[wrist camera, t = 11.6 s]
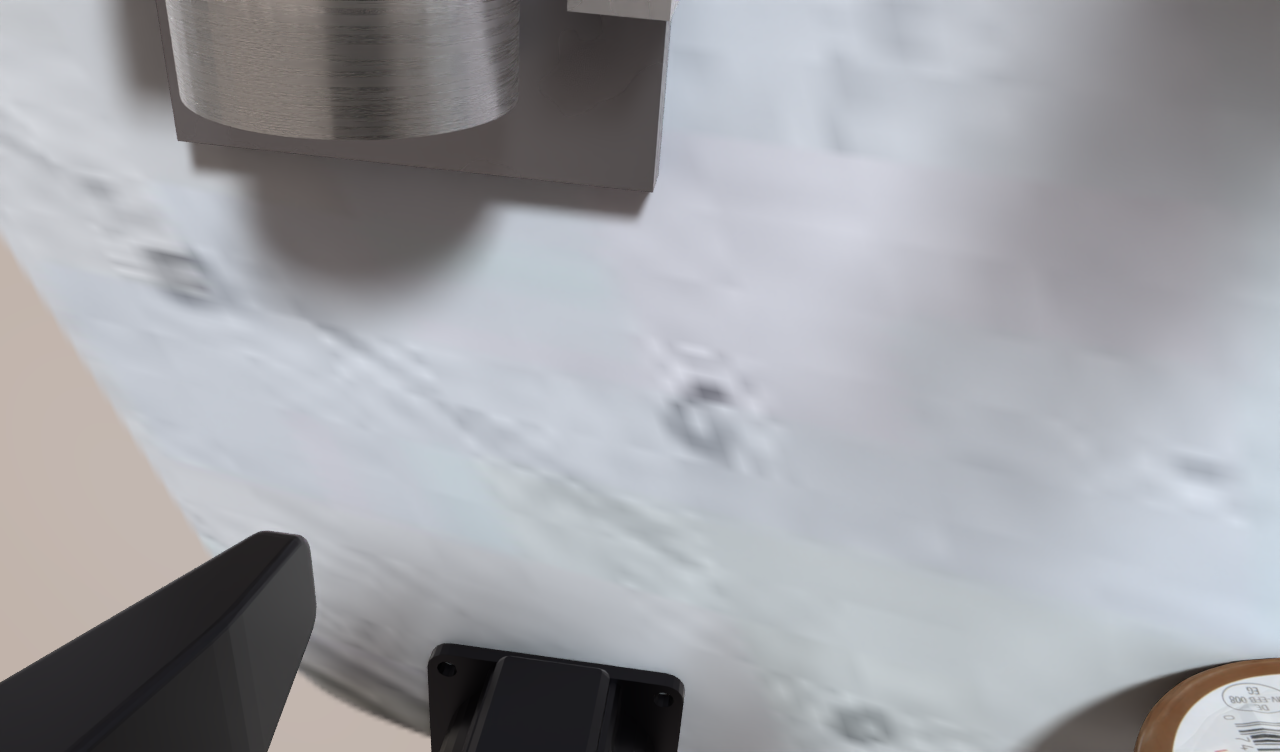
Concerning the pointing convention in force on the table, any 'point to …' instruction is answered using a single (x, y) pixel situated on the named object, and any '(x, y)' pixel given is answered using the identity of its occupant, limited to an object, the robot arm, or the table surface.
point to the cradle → (526, 103)
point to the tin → (1218, 711)
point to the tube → (347, 65)
